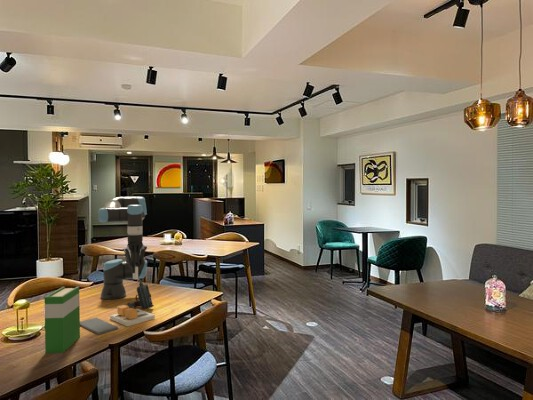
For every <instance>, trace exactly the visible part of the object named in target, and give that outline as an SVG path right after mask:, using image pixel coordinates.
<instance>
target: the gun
mask: <svg viewBox="0 0 533 400" xmlns="http://www.w3.org/2000/svg"><path fill="white" fill-rule="evenodd" d="M138 280H139V281H138V282H139V285H138V286H137V288H136V292H137V294H136V295H135V301H133V302H128V303H127V306H129V309H130V308H134V309H137V307H139V308H140V307H141V310H146V309H151V308H152V309H153V307H155V305H154V304H153V301H152V294H151V292H150V289H149V285H148V284H144V283H143V280H142V279H138Z"/></svg>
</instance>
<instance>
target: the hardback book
mask: <svg viewBox="0 0 533 400" xmlns="http://www.w3.org/2000/svg"><path fill="white" fill-rule="evenodd" d="M80 311H81V310H80V286H79V285H78V286H76V287H74V288H72V287H70V288H69V287H67V288H66V287H65V286H61V287H60V288H58V289H57V290H54V291H52V292H51V293H49V294H48V295H45V296H44V336H45V337H44V343H45V344H44V345H45V346H44V347H45V351H44V352H45V354H63V353H65V352H66V351H67V350H68V349H69V348H71V346H73V344H74V343H76V341H78V340H79V339H80V337H81V328H80V327H81V326H80V322H81V320H80V317H81V315H80V314H81V313H80Z"/></svg>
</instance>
